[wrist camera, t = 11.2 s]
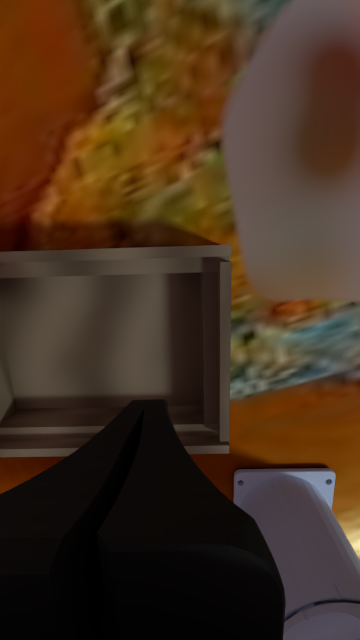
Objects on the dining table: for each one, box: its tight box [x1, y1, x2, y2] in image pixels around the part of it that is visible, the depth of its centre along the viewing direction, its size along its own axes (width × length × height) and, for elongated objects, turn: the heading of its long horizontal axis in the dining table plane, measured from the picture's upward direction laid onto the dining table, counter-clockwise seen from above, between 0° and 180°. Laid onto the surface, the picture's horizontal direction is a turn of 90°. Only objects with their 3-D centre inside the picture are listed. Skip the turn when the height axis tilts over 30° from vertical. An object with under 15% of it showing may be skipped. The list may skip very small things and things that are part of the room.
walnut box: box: [0, 245, 232, 457], centre depth 19 cm, size 17×13×4 cm
